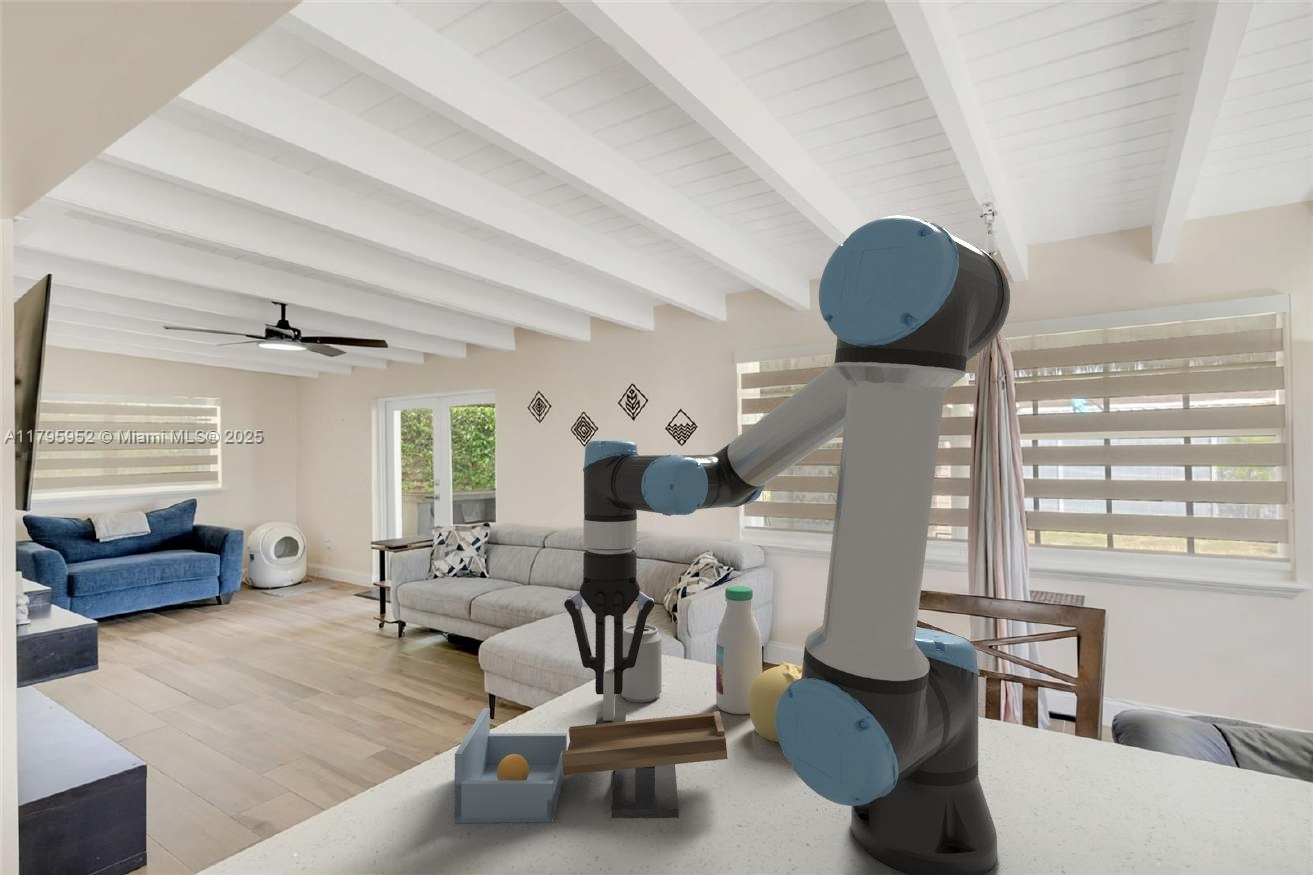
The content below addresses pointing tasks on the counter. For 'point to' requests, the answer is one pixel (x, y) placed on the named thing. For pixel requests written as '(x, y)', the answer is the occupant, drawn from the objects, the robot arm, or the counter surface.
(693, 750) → the seesaw chute
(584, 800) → the counter surface
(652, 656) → the can
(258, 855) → the counter surface
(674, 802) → the pivot stand
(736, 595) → the milk bottle
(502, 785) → the box
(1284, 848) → the counter surface
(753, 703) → the sculpture
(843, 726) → the robot arm
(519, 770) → the ball
